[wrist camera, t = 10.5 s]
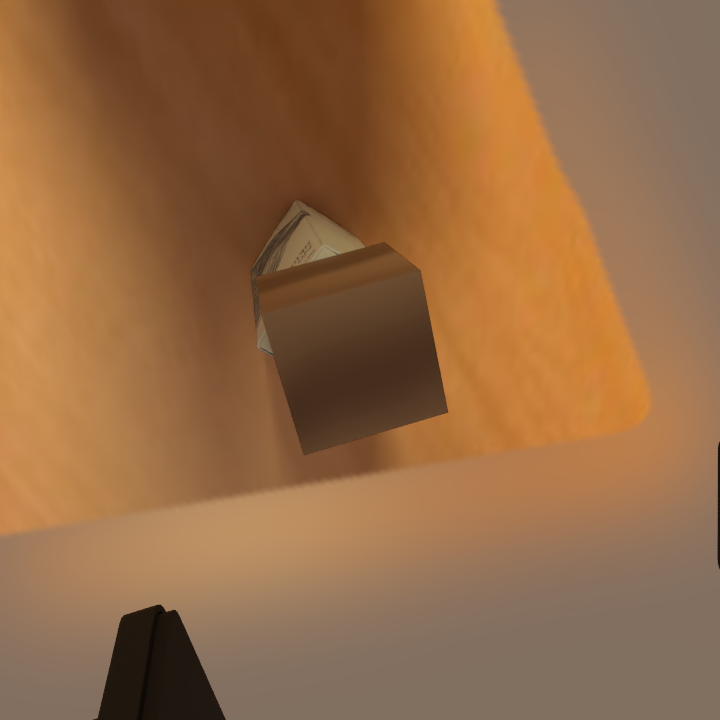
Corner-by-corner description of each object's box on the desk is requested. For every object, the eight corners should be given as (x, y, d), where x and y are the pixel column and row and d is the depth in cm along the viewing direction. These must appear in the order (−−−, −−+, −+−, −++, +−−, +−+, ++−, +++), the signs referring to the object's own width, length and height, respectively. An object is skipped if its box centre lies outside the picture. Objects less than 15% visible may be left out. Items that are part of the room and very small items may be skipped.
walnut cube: (255, 276, 23) (260, 314, 19) (384, 242, 24) (420, 270, 19) (291, 394, 25) (303, 455, 20) (409, 360, 26) (448, 412, 21)
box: (295, 196, 35) (325, 232, 23) (359, 238, 36) (418, 293, 25) (245, 275, 36) (251, 348, 24) (310, 313, 37) (344, 400, 26)
